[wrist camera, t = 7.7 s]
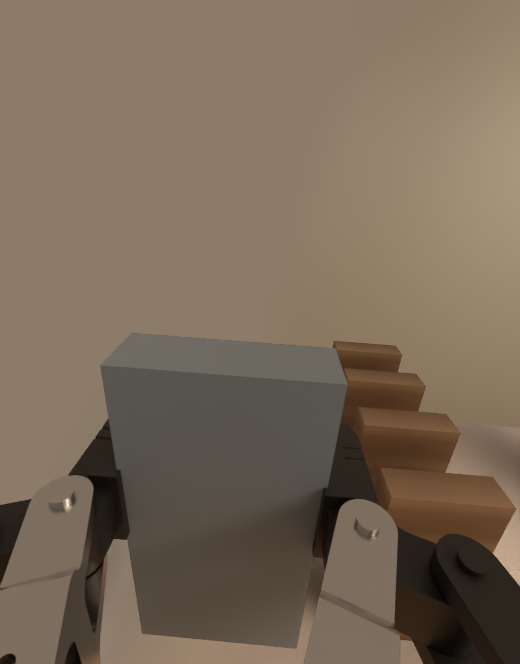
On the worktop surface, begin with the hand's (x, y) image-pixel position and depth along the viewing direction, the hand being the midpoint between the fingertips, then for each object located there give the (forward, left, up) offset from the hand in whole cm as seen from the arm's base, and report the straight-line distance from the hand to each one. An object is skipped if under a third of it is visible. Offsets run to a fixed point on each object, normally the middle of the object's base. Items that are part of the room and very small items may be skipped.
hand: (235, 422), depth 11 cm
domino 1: (-1, +2, -6) cm, 7 cm away
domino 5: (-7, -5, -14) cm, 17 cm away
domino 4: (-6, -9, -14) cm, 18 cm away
